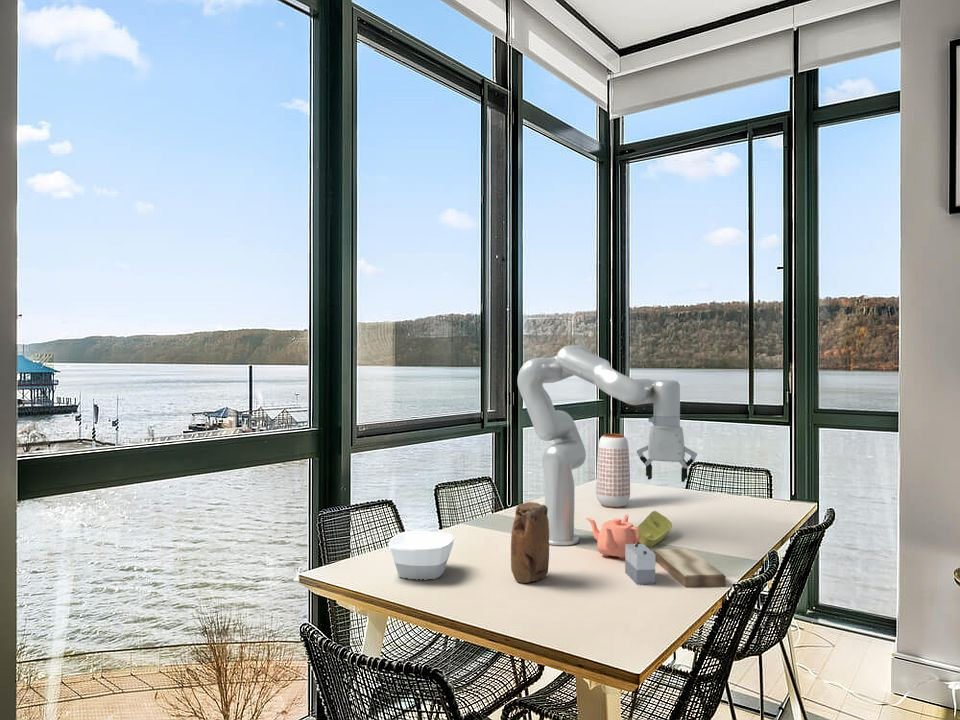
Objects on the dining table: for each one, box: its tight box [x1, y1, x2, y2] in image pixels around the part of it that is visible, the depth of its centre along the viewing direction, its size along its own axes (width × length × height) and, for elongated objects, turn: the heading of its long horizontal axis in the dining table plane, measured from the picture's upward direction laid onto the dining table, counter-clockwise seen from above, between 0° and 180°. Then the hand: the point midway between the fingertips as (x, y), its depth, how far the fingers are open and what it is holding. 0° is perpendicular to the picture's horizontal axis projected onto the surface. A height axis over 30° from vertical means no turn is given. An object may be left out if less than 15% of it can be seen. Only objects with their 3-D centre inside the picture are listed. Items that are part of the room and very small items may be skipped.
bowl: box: [388, 531, 455, 581], centre depth 192 cm, size 18×18×9 cm
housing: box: [624, 543, 656, 586], centre depth 189 cm, size 5×10×8 cm, turn 6°
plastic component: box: [635, 510, 673, 548], centre depth 229 cm, size 20×7×10 cm
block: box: [510, 501, 550, 584], centre depth 188 cm, size 11×8×20 cm
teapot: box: [585, 514, 641, 561], centre depth 210 cm, size 14×14×11 cm
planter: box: [595, 433, 631, 509], centre depth 276 cm, size 13×13×28 cm
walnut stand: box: [652, 548, 727, 588], centre depth 195 cm, size 11×24×3 cm, turn 6°
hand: (666, 480), depth 206 cm, fingers open, 9 cm apart
